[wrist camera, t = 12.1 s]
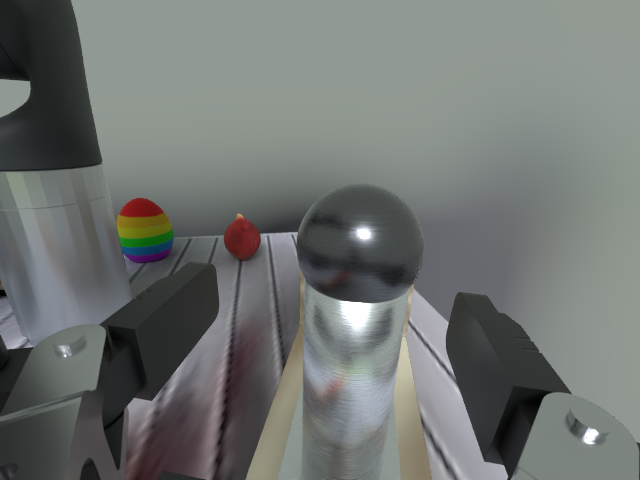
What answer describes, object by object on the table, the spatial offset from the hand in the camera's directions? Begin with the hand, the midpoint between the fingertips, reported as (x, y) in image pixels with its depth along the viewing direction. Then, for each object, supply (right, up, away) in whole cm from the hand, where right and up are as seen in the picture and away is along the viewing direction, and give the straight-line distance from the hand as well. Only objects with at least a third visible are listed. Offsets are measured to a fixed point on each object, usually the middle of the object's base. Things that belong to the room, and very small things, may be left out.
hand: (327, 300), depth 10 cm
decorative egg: (-29, -1, +40) cm, 50 cm away
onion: (-13, -1, +40) cm, 42 cm away
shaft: (+1, -9, +10) cm, 14 cm away
